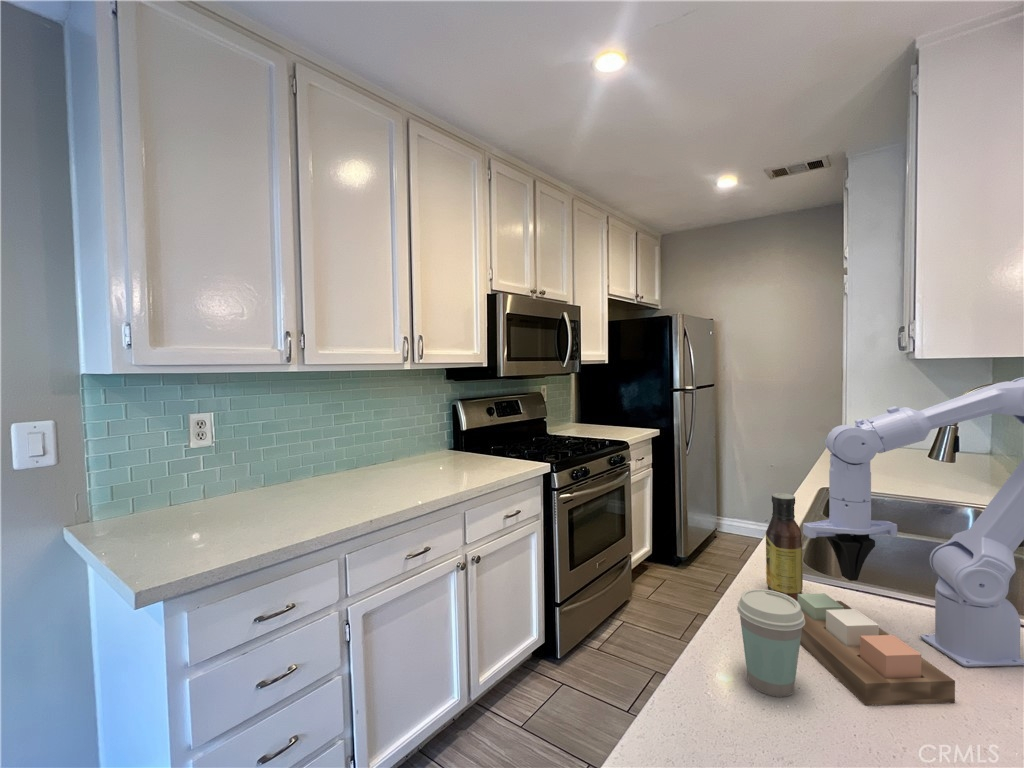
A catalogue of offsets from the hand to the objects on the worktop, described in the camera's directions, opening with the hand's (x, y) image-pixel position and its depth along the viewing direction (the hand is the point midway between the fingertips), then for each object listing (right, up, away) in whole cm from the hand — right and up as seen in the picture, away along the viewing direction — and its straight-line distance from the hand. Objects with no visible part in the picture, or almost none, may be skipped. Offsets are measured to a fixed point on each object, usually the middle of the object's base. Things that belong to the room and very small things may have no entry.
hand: (849, 578), depth 81 cm
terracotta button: (-4, -8, -13) cm, 16 cm away
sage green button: (-4, -8, +2) cm, 9 cm away
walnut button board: (-4, -10, -6) cm, 12 cm away
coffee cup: (-20, -11, -12) cm, 25 cm away
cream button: (-4, -8, -6) cm, 10 cm away
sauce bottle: (-3, -9, +14) cm, 17 cm away
